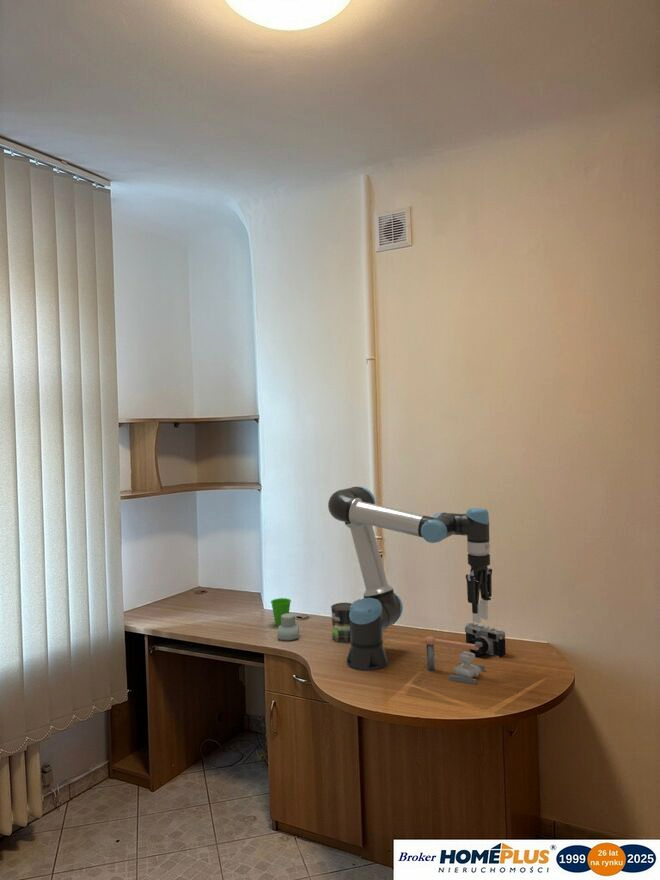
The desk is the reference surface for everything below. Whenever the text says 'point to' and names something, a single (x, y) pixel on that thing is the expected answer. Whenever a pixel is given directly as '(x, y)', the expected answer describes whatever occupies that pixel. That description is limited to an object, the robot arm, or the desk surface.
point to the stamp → (467, 666)
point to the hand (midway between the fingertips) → (480, 620)
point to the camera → (486, 639)
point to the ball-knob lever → (452, 643)
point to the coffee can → (341, 622)
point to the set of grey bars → (451, 677)
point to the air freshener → (288, 628)
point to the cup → (280, 608)
